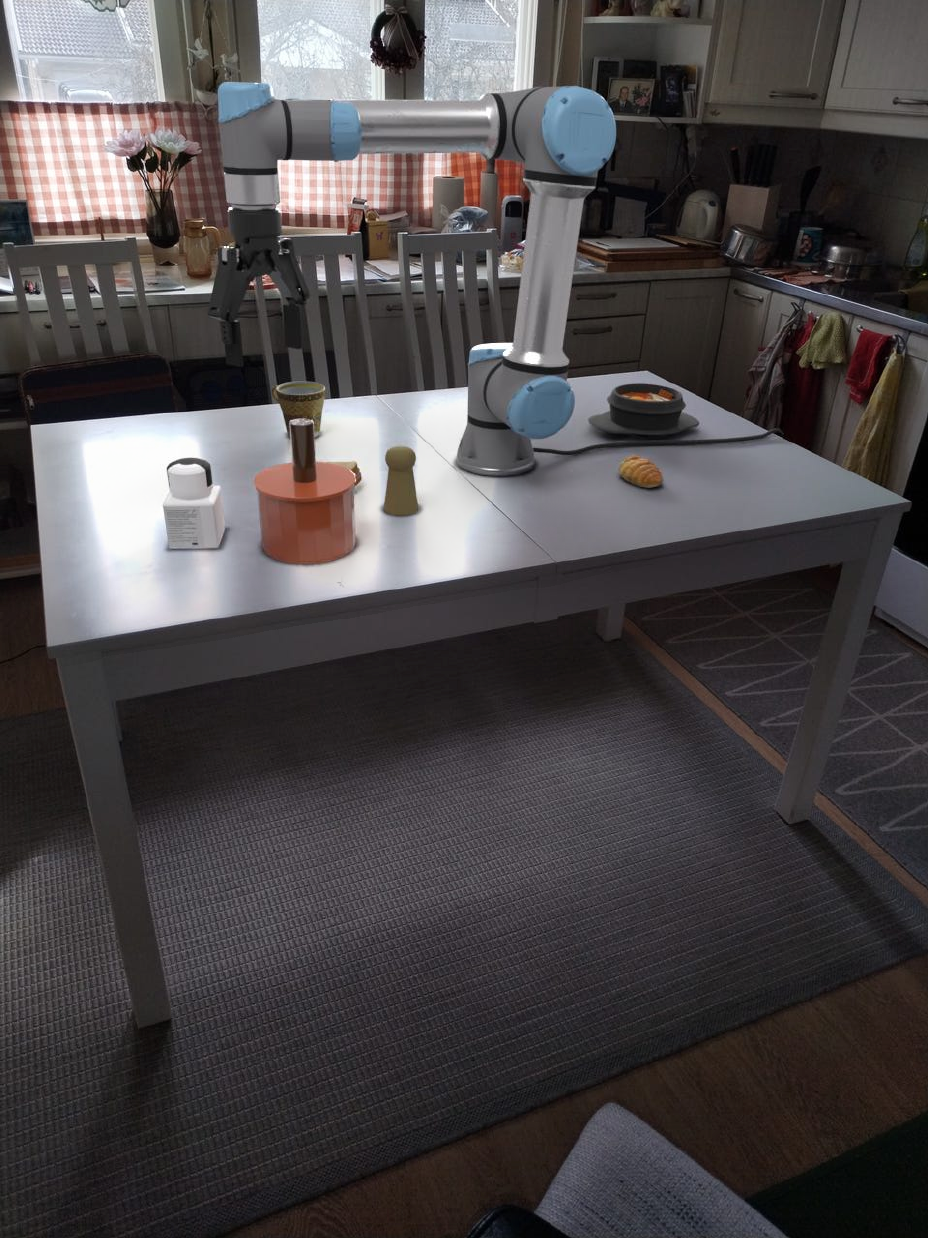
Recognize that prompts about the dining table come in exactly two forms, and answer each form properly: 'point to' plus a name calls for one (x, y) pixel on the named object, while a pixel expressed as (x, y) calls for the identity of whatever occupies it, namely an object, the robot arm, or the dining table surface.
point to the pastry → (640, 472)
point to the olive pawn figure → (400, 482)
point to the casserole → (644, 411)
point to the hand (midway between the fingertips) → (265, 356)
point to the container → (193, 506)
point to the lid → (304, 471)
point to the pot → (307, 528)
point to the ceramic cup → (301, 402)
